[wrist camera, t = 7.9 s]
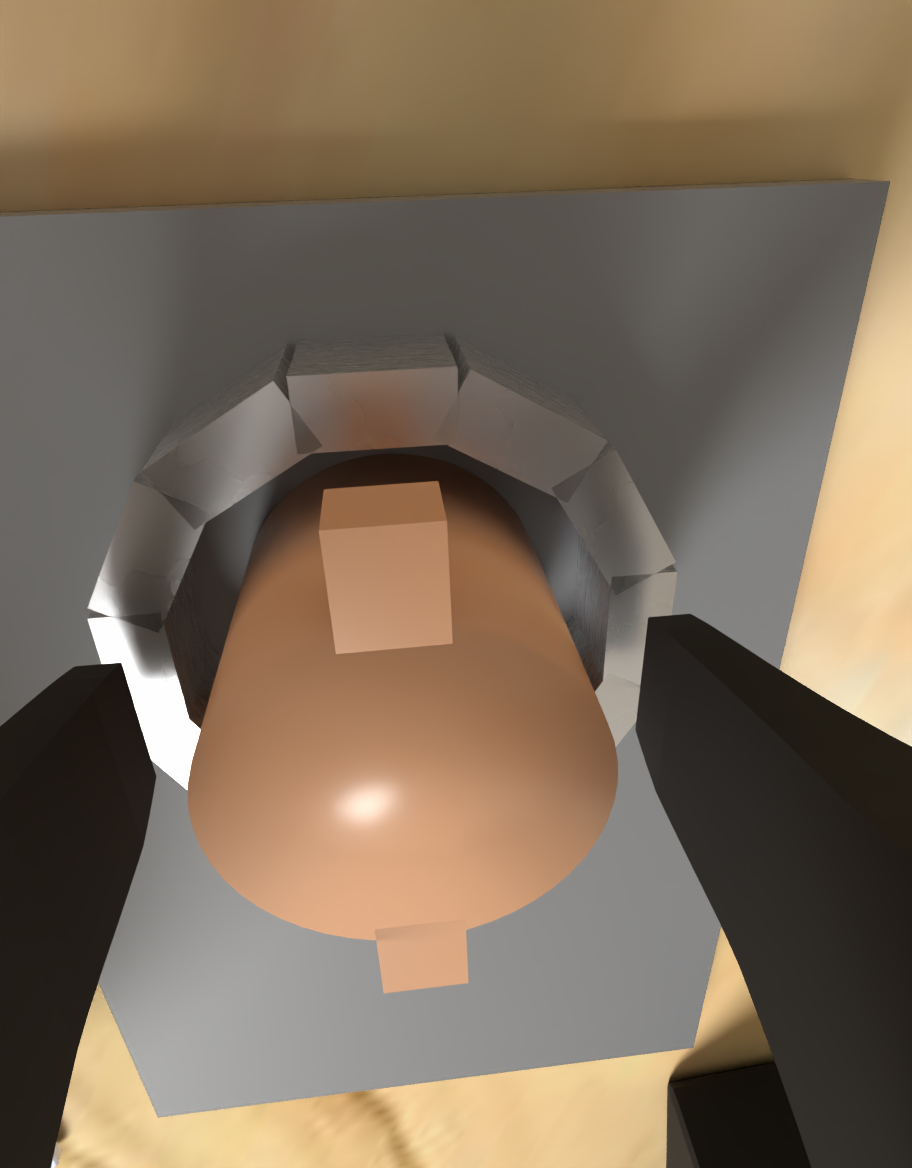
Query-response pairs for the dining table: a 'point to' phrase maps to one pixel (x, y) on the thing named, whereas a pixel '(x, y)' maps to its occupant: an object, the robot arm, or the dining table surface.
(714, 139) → the dining table surface
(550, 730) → the cap
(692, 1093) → the electronic device
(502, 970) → the board
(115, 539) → the segmented grey ring
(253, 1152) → the dining table surface
